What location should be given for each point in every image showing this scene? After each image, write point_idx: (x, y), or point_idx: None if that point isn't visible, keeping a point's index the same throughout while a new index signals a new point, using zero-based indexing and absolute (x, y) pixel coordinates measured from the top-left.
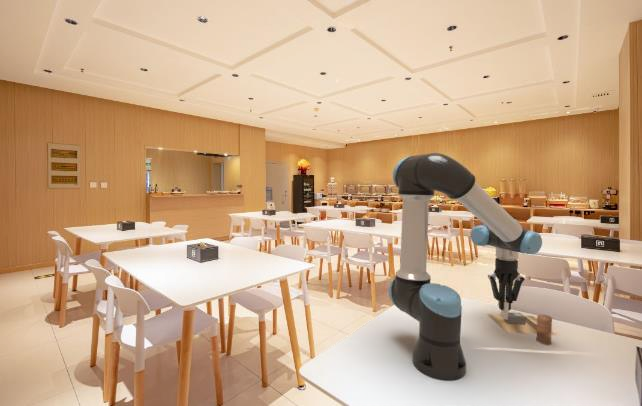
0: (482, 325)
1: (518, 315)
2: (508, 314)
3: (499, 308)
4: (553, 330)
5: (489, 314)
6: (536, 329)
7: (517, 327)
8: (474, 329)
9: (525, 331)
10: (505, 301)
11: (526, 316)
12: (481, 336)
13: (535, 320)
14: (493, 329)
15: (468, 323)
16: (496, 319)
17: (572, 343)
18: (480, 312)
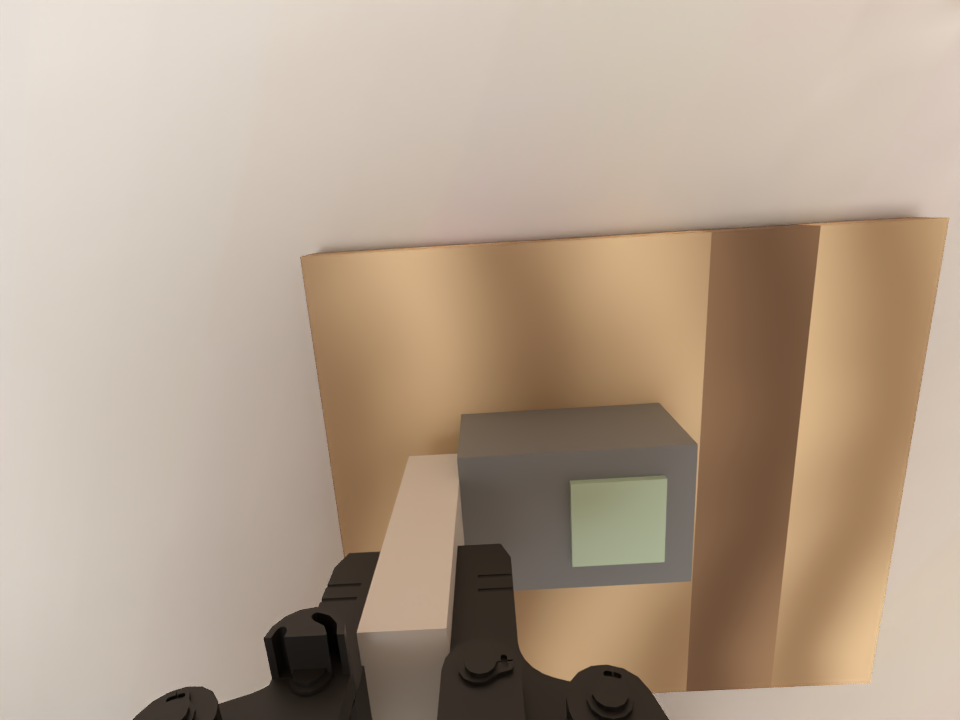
0: (202, 493)
1: (611, 562)
2: (489, 526)
3: (346, 566)
4: (881, 606)
5: (328, 269)
6: (709, 611)
7: (526, 594)
8: (102, 591)
9: (563, 667)
10: (424, 686)
11: (833, 259)
12: (144, 706)
13: (867, 378)
14: (293, 564)
15: (56, 467)
16: (368, 425)
17: (890, 712)
18: (269, 78)
